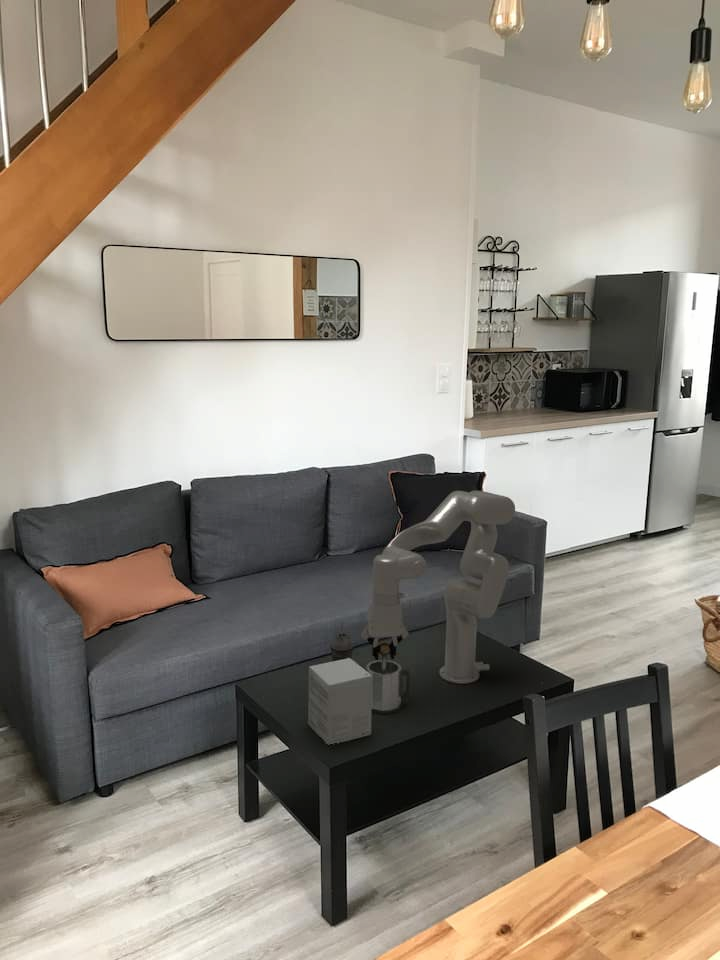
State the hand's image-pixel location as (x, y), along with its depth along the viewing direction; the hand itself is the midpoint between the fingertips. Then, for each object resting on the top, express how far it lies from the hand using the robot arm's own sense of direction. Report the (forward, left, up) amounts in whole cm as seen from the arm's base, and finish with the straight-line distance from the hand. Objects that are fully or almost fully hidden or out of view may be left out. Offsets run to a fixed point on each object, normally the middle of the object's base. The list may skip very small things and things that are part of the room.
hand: (384, 657), depth 225 cm
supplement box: (+14, +12, -15) cm, 24 cm away
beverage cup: (+10, -17, -15) cm, 25 cm away
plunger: (0, 0, -12) cm, 12 cm away
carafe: (-1, 0, -15) cm, 15 cm away
